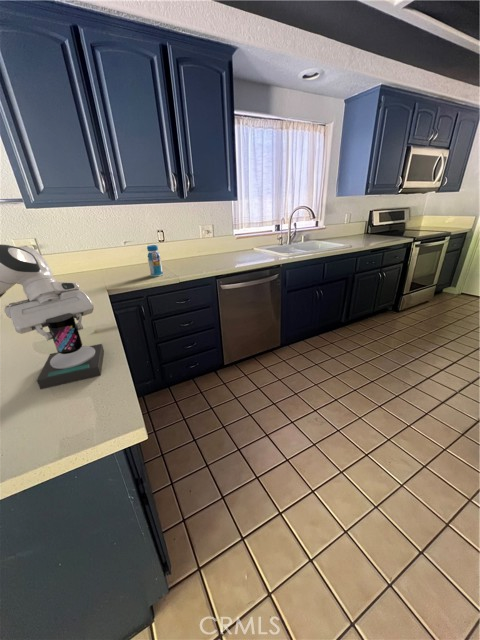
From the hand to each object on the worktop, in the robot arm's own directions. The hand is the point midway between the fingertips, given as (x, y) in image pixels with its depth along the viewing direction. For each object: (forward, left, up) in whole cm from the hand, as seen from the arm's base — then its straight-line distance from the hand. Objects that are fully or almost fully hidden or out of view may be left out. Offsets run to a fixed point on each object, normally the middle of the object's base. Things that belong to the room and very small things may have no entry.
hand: (65, 333), depth 77 cm
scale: (0, -1, -11) cm, 11 cm away
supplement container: (0, +1, -6) cm, 6 cm away
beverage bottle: (+35, +107, -12) cm, 113 cm away
